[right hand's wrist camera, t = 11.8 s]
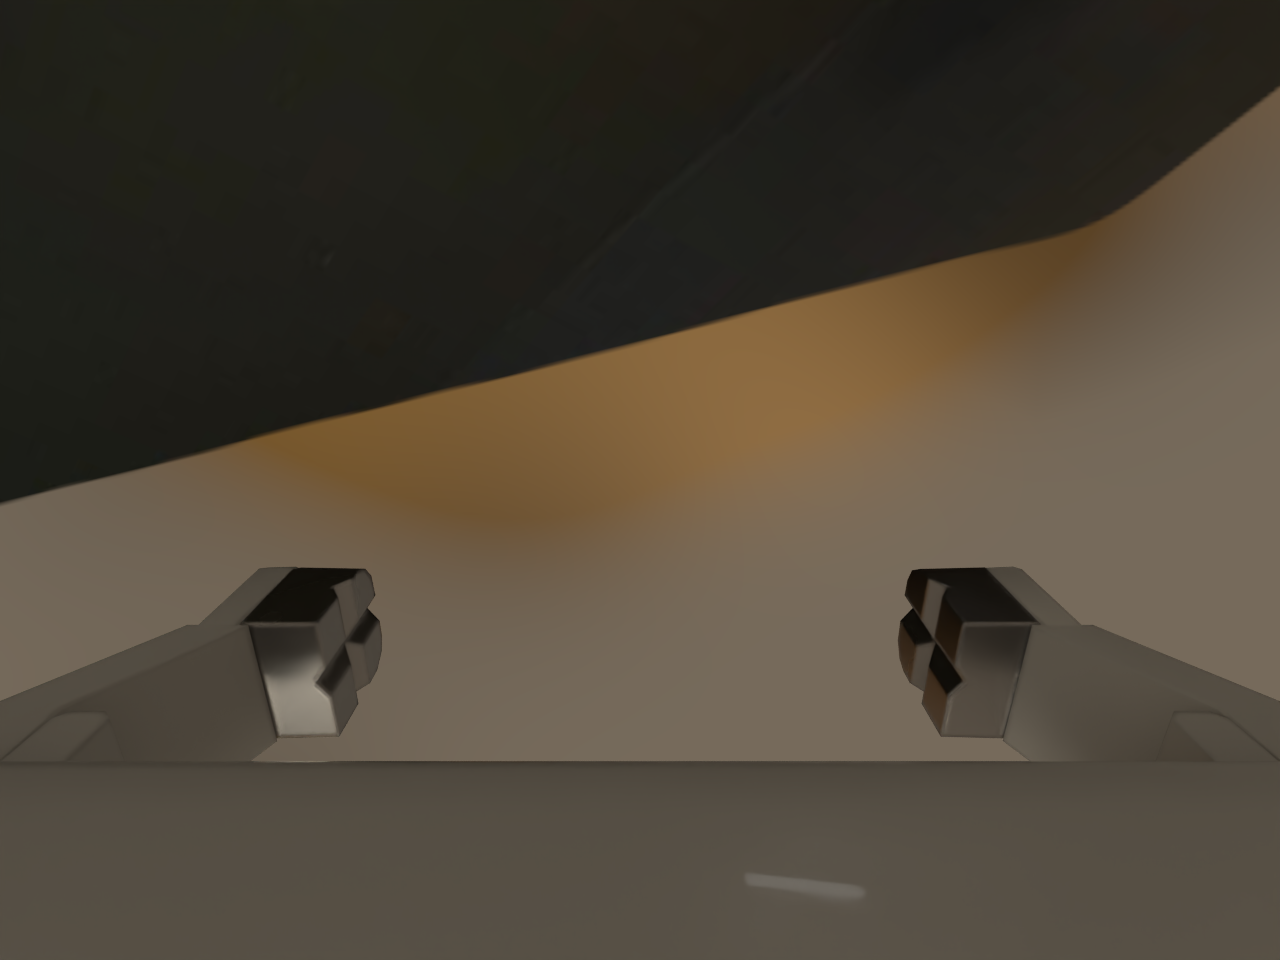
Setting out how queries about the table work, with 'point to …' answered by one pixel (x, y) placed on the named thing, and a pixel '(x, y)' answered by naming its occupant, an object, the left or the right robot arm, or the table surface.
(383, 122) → the table surface
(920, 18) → the table surface
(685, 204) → the table surface
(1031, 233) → the table surface
